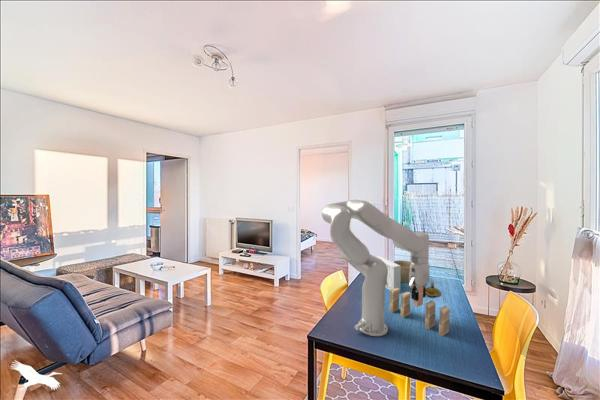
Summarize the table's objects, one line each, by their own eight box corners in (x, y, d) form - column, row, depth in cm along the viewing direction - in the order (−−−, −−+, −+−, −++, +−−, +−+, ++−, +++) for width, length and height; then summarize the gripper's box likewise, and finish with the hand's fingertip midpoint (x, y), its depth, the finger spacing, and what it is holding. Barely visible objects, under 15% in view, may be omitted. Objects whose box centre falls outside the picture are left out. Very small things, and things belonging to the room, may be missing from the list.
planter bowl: (405, 286, 160) (406, 269, 159) (387, 277, 174) (387, 262, 174) (424, 282, 166) (425, 266, 166) (404, 274, 181) (405, 259, 180)
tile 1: (409, 314, 125) (410, 292, 125) (403, 317, 123) (404, 295, 122) (406, 313, 127) (407, 291, 126) (400, 316, 124) (401, 294, 123)
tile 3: (434, 325, 116) (435, 302, 115) (428, 329, 113) (429, 305, 112) (430, 324, 117) (431, 300, 117) (424, 327, 114) (425, 303, 114)
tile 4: (448, 332, 111) (449, 307, 110) (443, 336, 108) (444, 310, 107) (444, 330, 112) (445, 305, 112) (438, 334, 109) (439, 308, 109)
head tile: (398, 309, 130) (399, 288, 130) (392, 312, 127) (393, 291, 127) (395, 308, 132) (396, 287, 131) (389, 311, 129) (390, 289, 128)
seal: (440, 301, 142) (440, 291, 156) (441, 293, 142) (441, 284, 155) (421, 296, 147) (423, 286, 160) (422, 288, 146) (424, 279, 159)
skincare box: (372, 280, 171) (373, 256, 170) (379, 279, 172) (380, 255, 171) (393, 293, 151) (393, 266, 150) (400, 291, 152) (401, 265, 151)
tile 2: (423, 304, 120) (423, 281, 119) (417, 307, 117) (417, 283, 116) (419, 302, 122) (419, 279, 121) (413, 305, 119) (413, 282, 118)
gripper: (417, 265, 110) (415, 306, 111) (436, 258, 120) (435, 296, 121) (401, 260, 116) (400, 300, 117) (421, 254, 126) (420, 290, 127)
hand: (418, 297), depth 119 cm, fingers closed on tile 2, 4 cm apart
